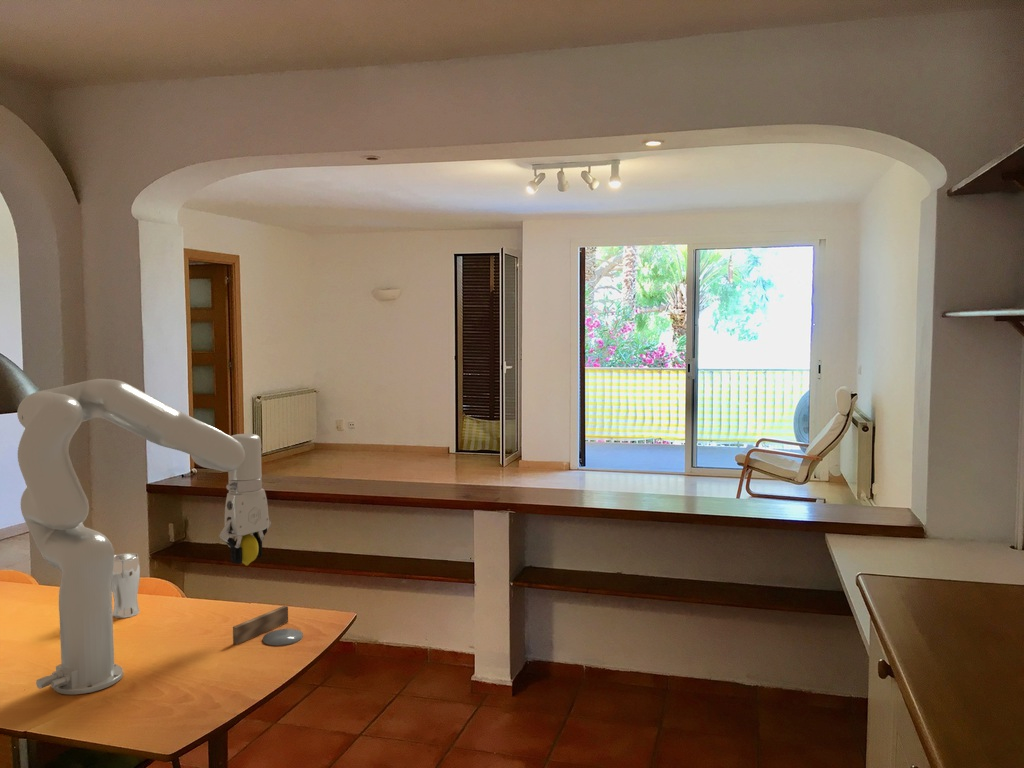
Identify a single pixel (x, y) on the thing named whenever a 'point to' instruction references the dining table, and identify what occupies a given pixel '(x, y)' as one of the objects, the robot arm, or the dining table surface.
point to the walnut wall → (260, 625)
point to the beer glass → (125, 585)
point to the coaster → (282, 637)
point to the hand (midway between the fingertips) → (246, 559)
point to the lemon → (249, 548)
